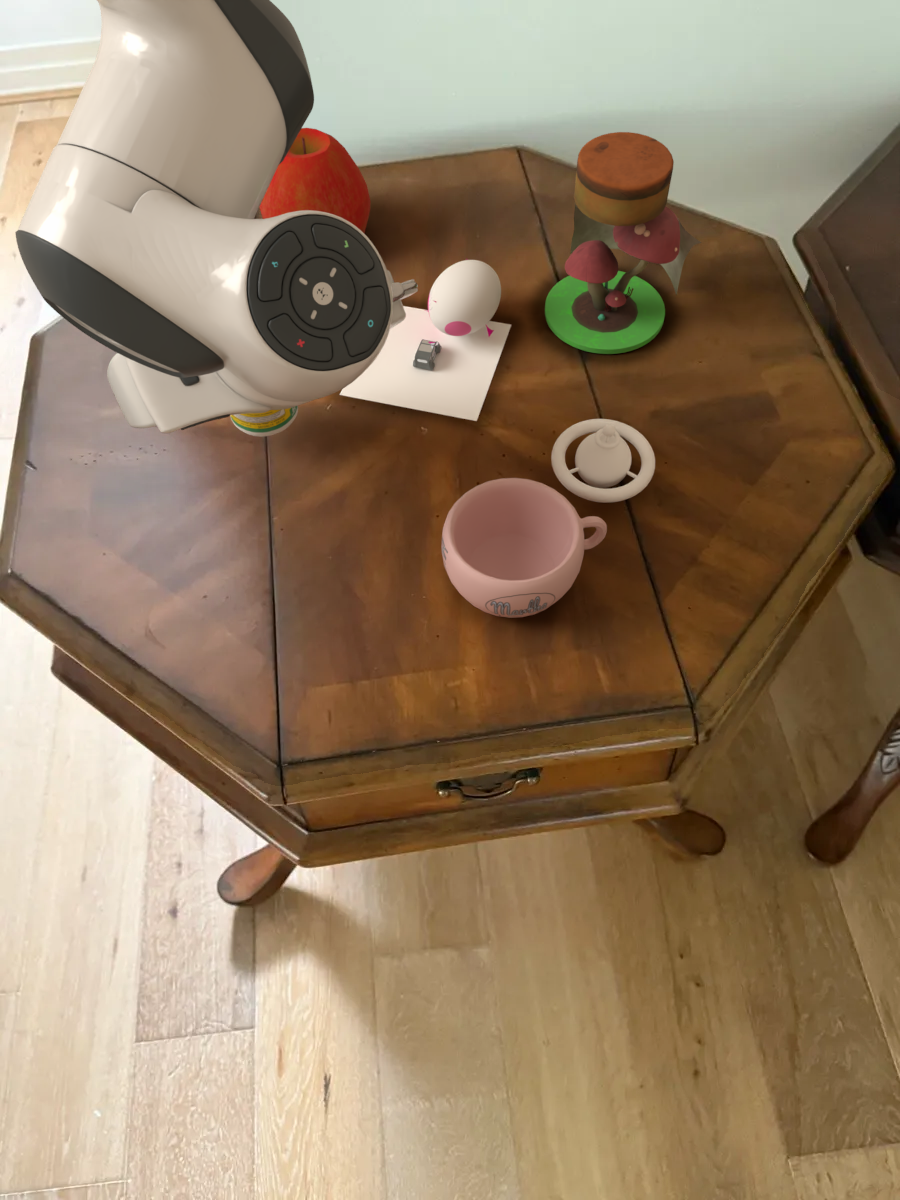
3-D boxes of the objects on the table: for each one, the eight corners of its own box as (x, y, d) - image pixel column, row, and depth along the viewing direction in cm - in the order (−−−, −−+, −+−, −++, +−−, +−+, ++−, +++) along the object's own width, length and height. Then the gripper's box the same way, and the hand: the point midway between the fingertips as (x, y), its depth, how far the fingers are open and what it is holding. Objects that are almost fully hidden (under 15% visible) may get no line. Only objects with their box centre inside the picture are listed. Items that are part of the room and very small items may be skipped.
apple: (257, 218, 95) (235, 116, 86) (359, 197, 97) (347, 94, 88) (279, 284, 90) (258, 181, 81) (386, 260, 91) (376, 157, 82)
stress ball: (463, 322, 90) (426, 260, 87) (531, 302, 85) (494, 235, 82) (426, 371, 87) (385, 309, 83) (494, 354, 81) (454, 286, 78)
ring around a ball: (619, 423, 79) (531, 455, 77) (630, 373, 74) (536, 406, 73) (670, 494, 75) (579, 529, 74) (684, 446, 70) (588, 483, 69)
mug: (461, 648, 68) (460, 603, 63) (429, 539, 73) (425, 488, 68) (624, 611, 69) (635, 564, 64) (580, 506, 75) (588, 455, 70)
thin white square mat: (511, 324, 86) (511, 311, 85) (476, 421, 80) (476, 408, 78) (383, 302, 88) (381, 289, 87) (339, 394, 82) (337, 381, 80)
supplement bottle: (226, 398, 77) (196, 302, 69) (291, 383, 78) (270, 286, 70) (238, 446, 75) (208, 352, 67) (305, 430, 75) (285, 334, 67)
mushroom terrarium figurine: (661, 376, 82) (695, 221, 69) (521, 340, 85) (529, 185, 72) (695, 289, 88) (732, 132, 75) (563, 258, 91) (577, 102, 78)
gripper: (407, 230, 61) (358, 271, 74) (91, 341, 56) (99, 364, 69) (442, 328, 62) (388, 351, 75) (138, 444, 58) (137, 447, 71)
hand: (248, 358), depth 72 cm, fingers closed on supplement bottle, 5 cm apart
